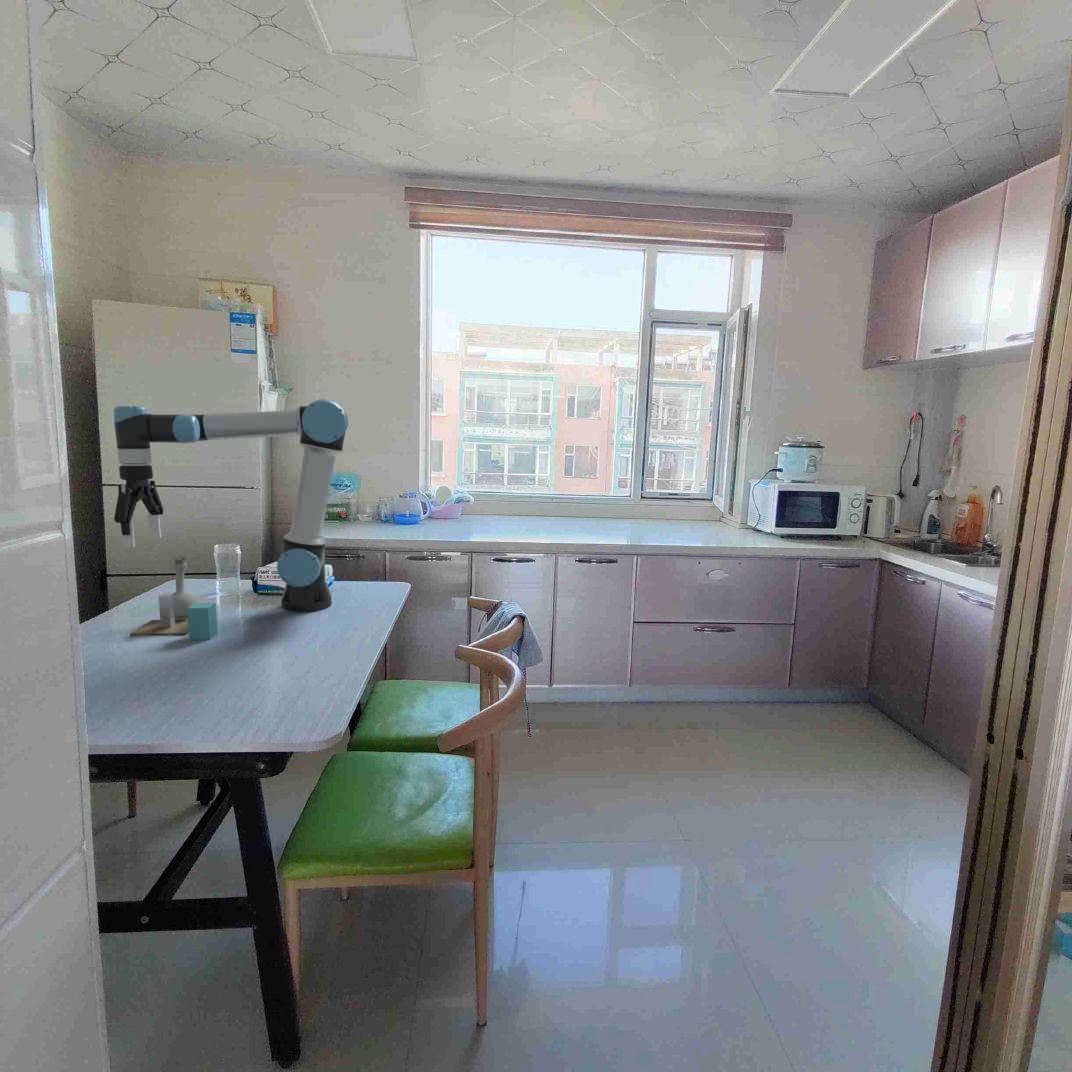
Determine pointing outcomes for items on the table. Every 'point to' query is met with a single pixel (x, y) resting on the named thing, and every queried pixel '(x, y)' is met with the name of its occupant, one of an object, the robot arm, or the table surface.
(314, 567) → the robot arm
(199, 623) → the teal boxy block
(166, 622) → the post
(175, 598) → the potion bottle
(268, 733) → the table surface
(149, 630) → the board
